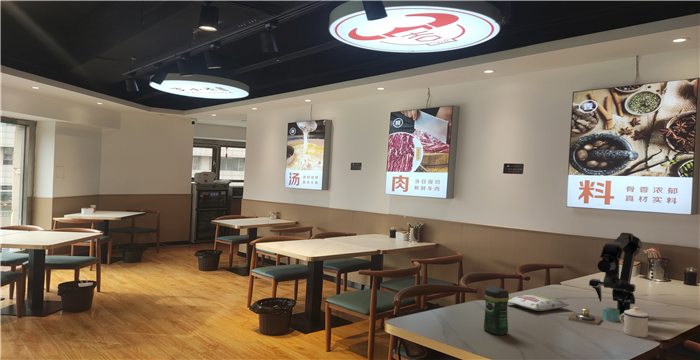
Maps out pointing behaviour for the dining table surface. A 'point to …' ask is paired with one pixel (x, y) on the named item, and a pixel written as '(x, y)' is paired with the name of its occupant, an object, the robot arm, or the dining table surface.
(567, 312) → the dining table surface
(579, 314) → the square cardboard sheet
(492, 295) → the coffee jar
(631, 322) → the teacup with lid
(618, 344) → the dining table surface
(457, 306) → the dining table surface
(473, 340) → the dining table surface
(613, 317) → the cap
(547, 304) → the frozen beans
